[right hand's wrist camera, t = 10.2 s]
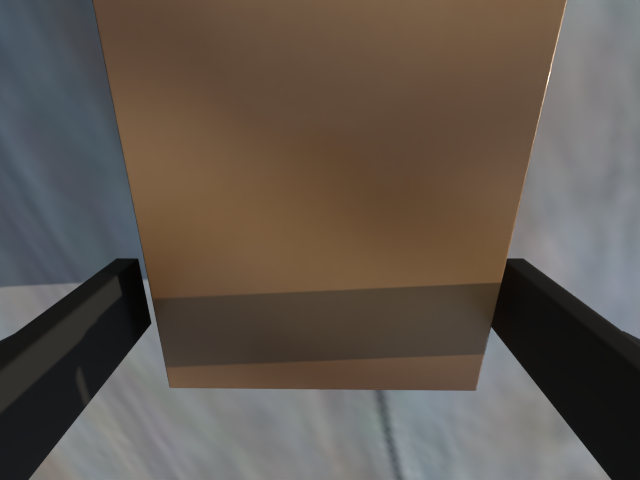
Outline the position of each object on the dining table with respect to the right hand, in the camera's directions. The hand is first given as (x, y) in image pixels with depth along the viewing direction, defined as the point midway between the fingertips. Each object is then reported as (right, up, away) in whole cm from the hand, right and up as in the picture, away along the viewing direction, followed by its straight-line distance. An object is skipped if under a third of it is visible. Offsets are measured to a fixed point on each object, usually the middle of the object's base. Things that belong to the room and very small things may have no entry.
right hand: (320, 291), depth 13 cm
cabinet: (0, +10, +5) cm, 11 cm away
